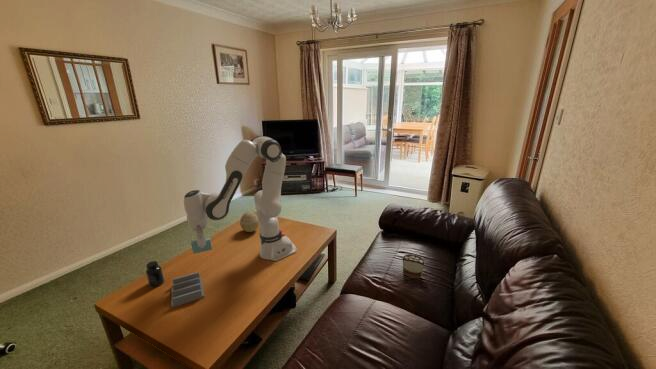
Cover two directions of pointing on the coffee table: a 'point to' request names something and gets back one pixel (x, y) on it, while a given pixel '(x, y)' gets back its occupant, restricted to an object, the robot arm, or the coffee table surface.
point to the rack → (186, 289)
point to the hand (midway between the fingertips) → (202, 245)
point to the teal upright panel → (199, 249)
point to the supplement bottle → (154, 274)
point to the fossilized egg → (249, 222)
